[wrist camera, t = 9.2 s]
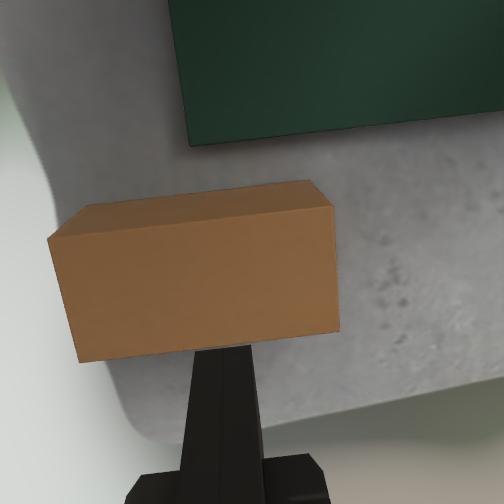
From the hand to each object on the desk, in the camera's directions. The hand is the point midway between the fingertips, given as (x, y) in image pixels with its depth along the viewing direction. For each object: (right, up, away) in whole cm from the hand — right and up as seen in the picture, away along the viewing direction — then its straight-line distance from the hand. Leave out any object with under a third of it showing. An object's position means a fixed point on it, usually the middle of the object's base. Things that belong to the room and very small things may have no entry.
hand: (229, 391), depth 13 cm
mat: (+6, +16, +10) cm, 19 cm away
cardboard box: (+4, +4, +11) cm, 12 cm away
